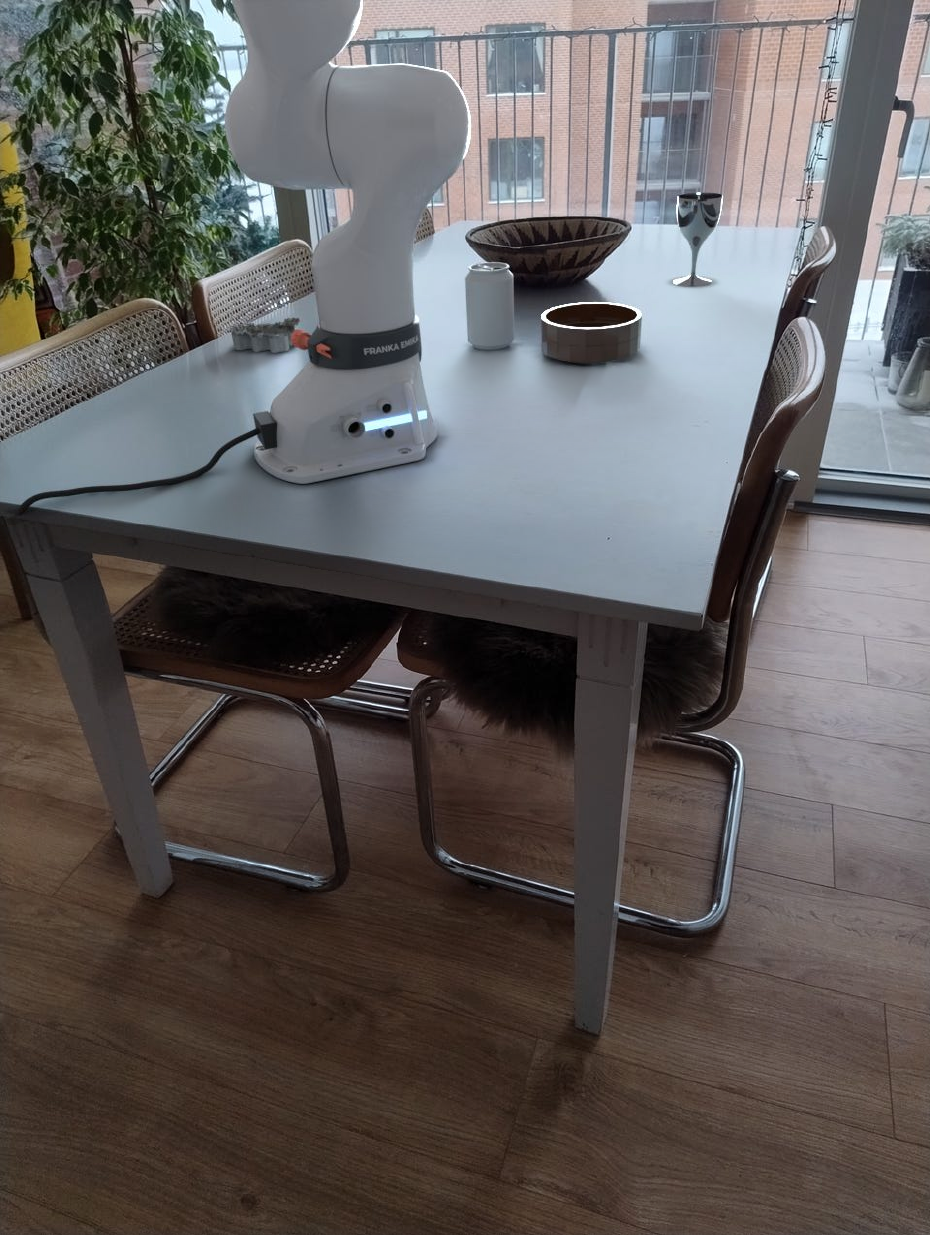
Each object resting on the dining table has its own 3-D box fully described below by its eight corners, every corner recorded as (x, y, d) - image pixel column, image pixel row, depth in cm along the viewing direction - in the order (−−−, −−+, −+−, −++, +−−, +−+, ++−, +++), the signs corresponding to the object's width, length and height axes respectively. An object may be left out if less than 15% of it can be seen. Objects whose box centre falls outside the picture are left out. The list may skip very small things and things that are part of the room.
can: (510, 351, 135) (509, 270, 128) (463, 351, 136) (459, 270, 130) (518, 338, 141) (516, 259, 134) (472, 337, 142) (469, 260, 136)
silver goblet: (719, 279, 167) (728, 193, 159) (705, 288, 162) (714, 200, 153) (680, 275, 171) (687, 192, 163) (664, 285, 166) (671, 198, 157)
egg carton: (306, 342, 145) (302, 317, 143) (280, 355, 139) (276, 329, 137) (254, 337, 149) (249, 312, 147) (226, 349, 143) (222, 324, 141)
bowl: (584, 373, 124) (585, 335, 121) (522, 351, 135) (521, 314, 132) (659, 352, 131) (662, 315, 128) (595, 332, 141) (596, 297, 138)
